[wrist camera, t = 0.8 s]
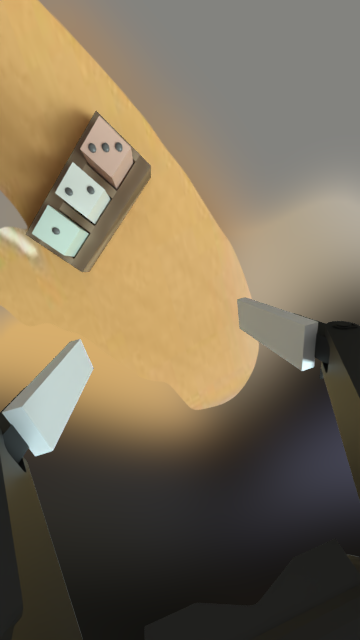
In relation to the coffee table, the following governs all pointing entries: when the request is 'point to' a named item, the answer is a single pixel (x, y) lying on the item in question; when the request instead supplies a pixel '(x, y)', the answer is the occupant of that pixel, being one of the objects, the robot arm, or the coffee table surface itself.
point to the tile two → (83, 193)
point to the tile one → (60, 232)
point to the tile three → (107, 153)
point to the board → (112, 213)
